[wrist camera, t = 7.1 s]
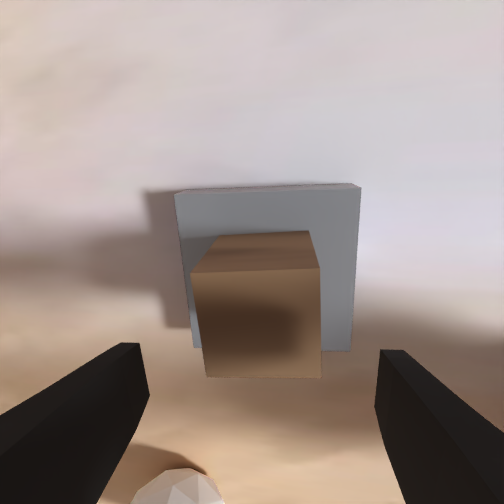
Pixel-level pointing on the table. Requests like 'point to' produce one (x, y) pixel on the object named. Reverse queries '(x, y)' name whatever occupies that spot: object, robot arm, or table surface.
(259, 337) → the walnut block
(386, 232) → the table surface
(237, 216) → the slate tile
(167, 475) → the geometric ball
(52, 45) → the table surface
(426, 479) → the robot arm
